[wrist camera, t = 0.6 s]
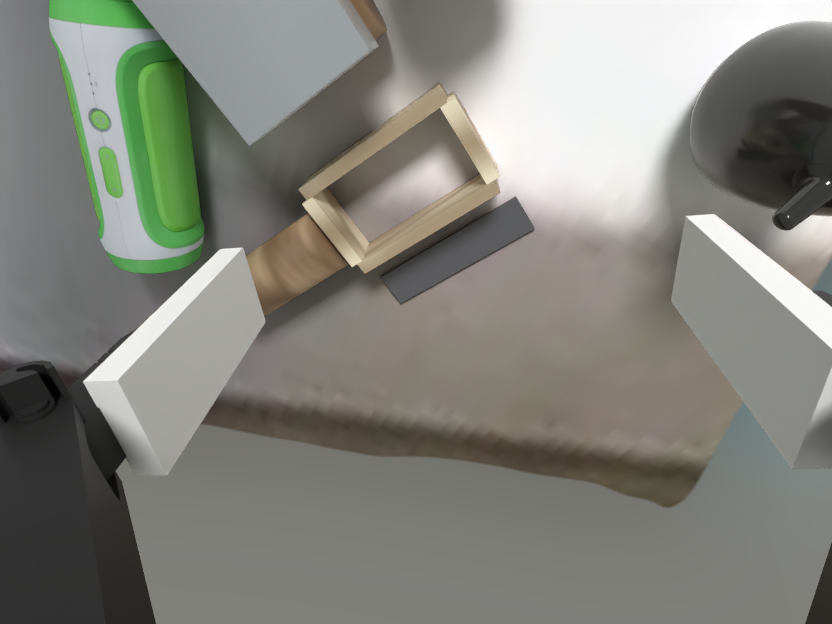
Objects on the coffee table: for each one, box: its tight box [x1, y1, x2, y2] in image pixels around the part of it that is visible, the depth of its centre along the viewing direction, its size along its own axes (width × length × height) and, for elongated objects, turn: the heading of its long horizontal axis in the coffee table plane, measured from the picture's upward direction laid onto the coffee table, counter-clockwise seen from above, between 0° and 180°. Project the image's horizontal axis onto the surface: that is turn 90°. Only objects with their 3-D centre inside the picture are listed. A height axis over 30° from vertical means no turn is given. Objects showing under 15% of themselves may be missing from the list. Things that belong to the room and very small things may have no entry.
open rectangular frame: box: [298, 83, 500, 274], centre depth 37 cm, size 8×13×4 cm, turn 124°
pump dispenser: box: [690, 21, 832, 230], centre depth 28 cm, size 10×10×15 cm
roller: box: [246, 213, 349, 317], centre depth 41 cm, size 5×10×5 cm, turn 124°
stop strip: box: [380, 197, 534, 303], centre depth 41 cm, size 3×13×1 cm, turn 124°
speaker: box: [49, 0, 205, 274], centre depth 35 cm, size 18×7×8 cm, turn 174°
